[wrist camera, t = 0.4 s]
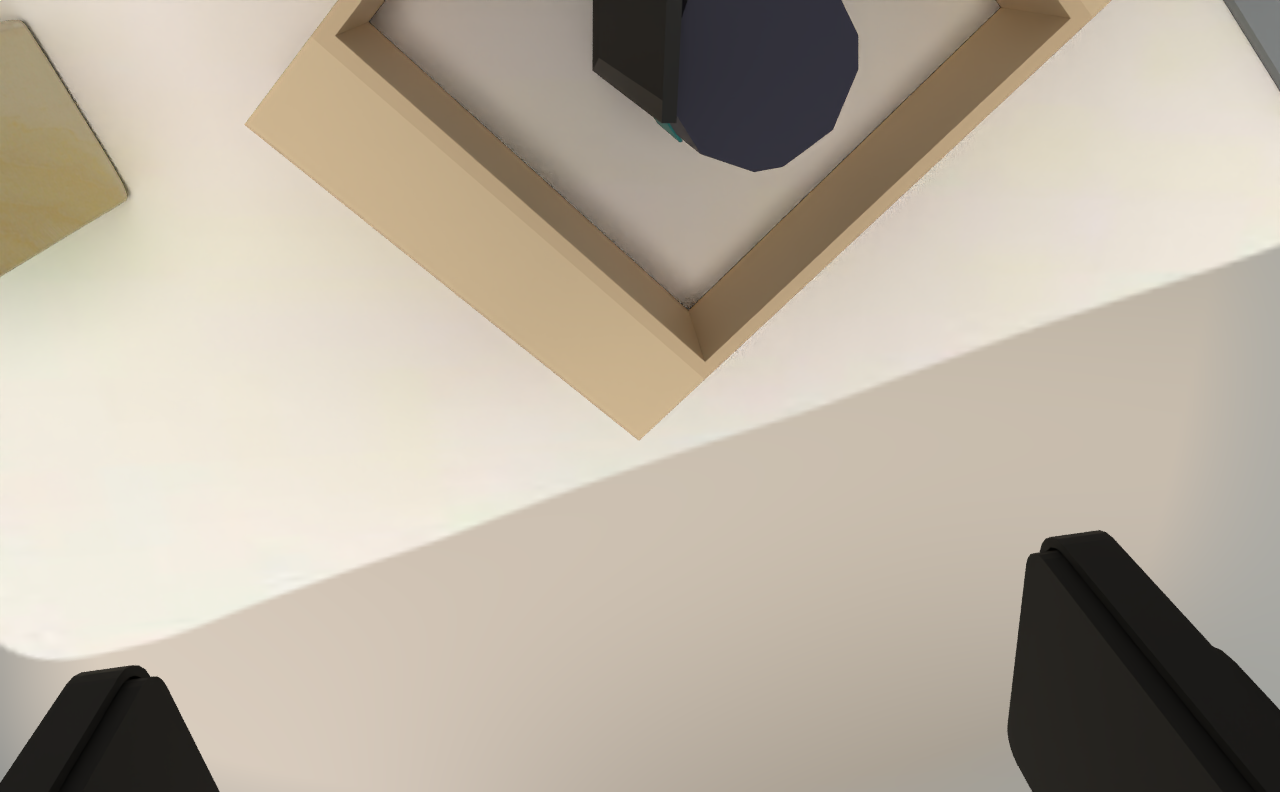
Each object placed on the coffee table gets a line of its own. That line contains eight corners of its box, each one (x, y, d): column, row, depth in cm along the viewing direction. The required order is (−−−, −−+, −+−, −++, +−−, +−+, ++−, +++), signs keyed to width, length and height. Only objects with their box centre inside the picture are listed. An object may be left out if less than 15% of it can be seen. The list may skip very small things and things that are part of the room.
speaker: (537, 69, 31) (572, 118, 22) (594, -102, 29) (657, -124, 20) (724, 143, 34) (822, 214, 25) (788, -10, 32) (921, 8, 23)
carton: (784, -549, 25) (832, -657, 20) (1101, -72, 31) (1190, -74, 26) (289, 98, 32) (244, 124, 27) (630, 382, 38) (638, 440, 33)
